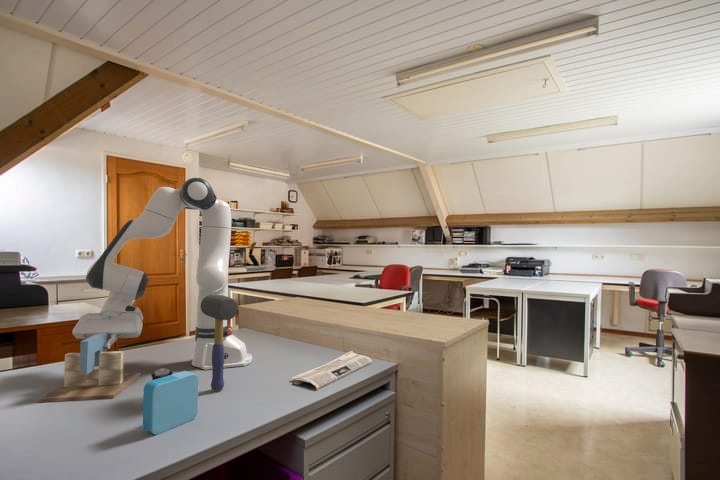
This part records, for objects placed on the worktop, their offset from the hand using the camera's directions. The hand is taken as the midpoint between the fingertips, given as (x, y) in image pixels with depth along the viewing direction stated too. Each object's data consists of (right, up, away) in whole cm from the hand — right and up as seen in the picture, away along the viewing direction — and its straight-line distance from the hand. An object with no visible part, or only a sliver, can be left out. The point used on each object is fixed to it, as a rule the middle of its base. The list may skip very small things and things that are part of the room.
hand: (100, 348), depth 122 cm
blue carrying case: (+38, -12, -28) cm, 48 cm away
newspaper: (+76, -13, +14) cm, 79 cm away
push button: (+30, -12, -17) cm, 36 cm away
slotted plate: (+1, -5, -4) cm, 7 cm away
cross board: (+1, -11, -4) cm, 12 cm away
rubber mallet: (+41, -12, -5) cm, 43 cm away
